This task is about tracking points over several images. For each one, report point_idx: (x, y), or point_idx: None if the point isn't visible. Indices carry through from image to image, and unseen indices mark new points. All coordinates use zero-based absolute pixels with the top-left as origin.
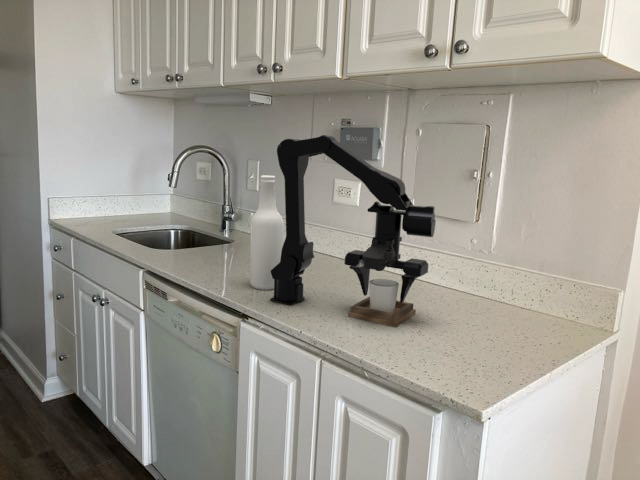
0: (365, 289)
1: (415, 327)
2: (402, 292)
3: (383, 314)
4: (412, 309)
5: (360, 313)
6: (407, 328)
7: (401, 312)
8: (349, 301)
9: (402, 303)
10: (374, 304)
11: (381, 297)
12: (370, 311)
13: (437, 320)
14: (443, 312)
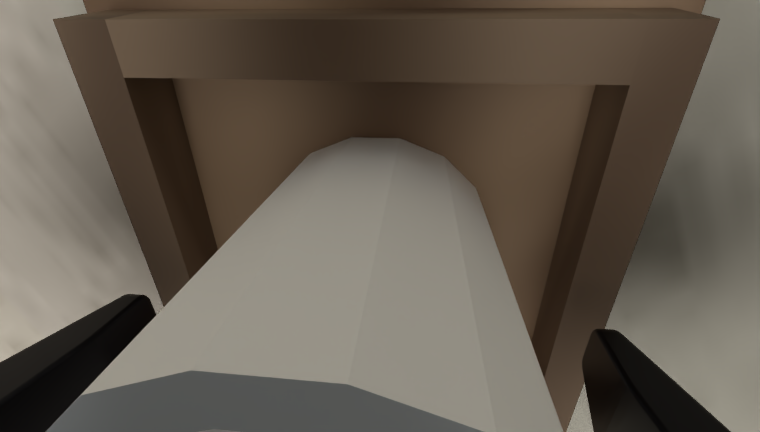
0: (625, 398)
1: (27, 96)
2: (2, 383)
3: (219, 15)
4: None
5: (537, 8)
6: (40, 26)
7: (119, 178)
8: (733, 374)
9: None
10: (406, 179)
11: (276, 225)
12: (400, 19)
13: (61, 305)
14: None
